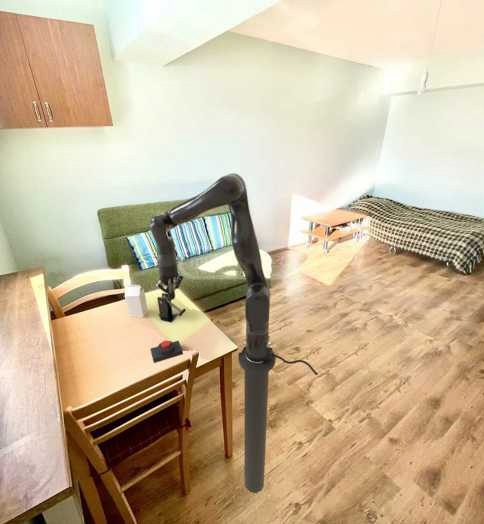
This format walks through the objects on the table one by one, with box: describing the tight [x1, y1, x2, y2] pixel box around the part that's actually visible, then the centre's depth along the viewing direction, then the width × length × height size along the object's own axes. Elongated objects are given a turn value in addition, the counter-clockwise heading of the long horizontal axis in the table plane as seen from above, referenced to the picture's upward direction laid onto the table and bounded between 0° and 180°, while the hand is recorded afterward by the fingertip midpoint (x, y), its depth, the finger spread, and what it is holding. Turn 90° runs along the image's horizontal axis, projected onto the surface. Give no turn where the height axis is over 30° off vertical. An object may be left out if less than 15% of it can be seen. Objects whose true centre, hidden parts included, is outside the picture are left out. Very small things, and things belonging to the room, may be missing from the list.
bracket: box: [156, 292, 179, 323], centre depth 138 cm, size 10×8×13 cm
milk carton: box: [124, 284, 149, 318], centre depth 138 cm, size 7×7×19 cm
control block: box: [149, 340, 184, 364], centre depth 116 cm, size 12×7×4 cm, turn 115°
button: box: [160, 340, 171, 349], centre depth 115 cm, size 4×4×2 cm
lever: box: [161, 295, 187, 317], centre depth 136 cm, size 13×5×2 cm
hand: (171, 298), depth 120 cm, fingers closed
